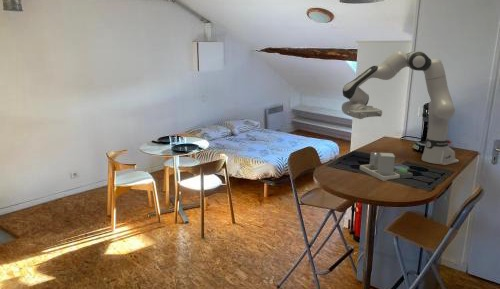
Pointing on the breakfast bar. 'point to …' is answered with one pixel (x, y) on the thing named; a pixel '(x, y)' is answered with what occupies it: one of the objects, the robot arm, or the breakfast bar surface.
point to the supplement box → (386, 164)
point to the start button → (403, 170)
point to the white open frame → (375, 173)
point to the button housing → (402, 176)
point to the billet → (374, 160)
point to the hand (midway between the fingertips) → (373, 115)
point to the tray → (400, 166)
